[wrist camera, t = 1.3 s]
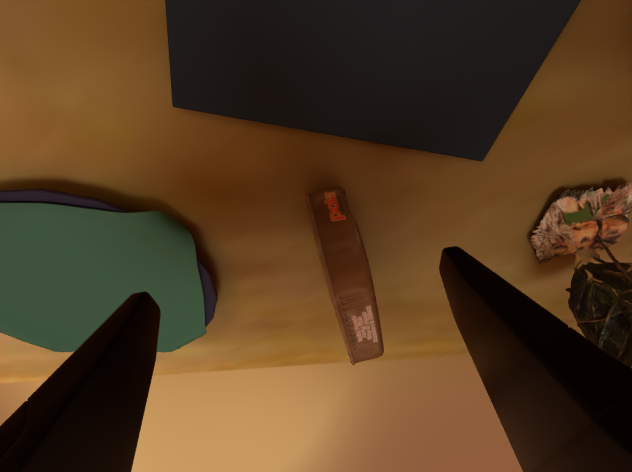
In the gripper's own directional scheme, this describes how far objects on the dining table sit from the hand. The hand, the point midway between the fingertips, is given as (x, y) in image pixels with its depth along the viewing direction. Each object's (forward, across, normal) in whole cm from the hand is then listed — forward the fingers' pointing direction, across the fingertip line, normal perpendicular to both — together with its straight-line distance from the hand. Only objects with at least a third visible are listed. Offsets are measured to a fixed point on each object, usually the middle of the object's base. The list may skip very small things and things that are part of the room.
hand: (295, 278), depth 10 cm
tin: (+13, -2, +11) cm, 18 cm away
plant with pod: (+13, -22, +14) cm, 29 cm away
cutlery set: (+13, +23, +10) cm, 29 cm away
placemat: (+13, -5, -3) cm, 14 cm away
